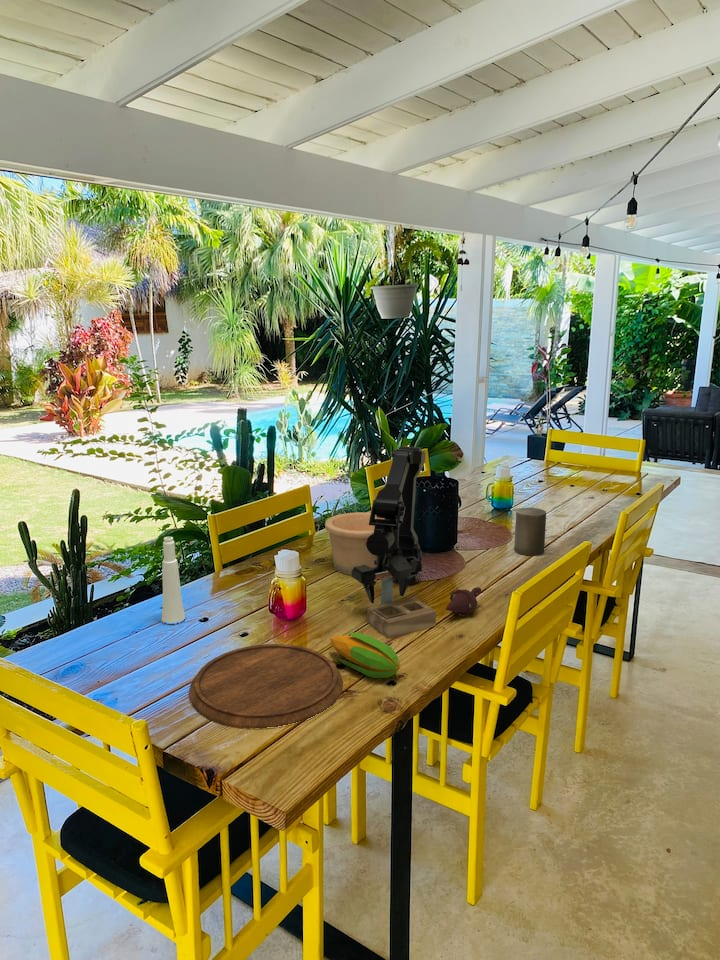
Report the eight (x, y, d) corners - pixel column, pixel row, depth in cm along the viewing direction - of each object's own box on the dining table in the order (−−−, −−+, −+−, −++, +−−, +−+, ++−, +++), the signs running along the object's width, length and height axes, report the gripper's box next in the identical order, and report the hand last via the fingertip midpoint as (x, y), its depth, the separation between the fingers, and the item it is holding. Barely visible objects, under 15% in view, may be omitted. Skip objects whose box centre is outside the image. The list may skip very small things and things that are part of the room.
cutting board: (374, 684, 151) (374, 673, 151) (258, 752, 128) (257, 739, 127) (273, 639, 172) (273, 629, 171) (158, 690, 149) (157, 679, 148)
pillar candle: (547, 556, 229) (550, 511, 225) (516, 556, 229) (519, 510, 226) (540, 546, 238) (543, 503, 235) (511, 546, 238) (513, 503, 235)
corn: (386, 655, 147) (318, 627, 160) (384, 689, 148) (317, 658, 161) (408, 645, 152) (341, 618, 165) (406, 678, 154) (339, 649, 167)
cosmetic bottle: (169, 627, 177) (164, 543, 172) (156, 620, 181) (151, 537, 176) (190, 619, 182) (185, 537, 176) (177, 613, 186) (172, 532, 180)
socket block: (367, 622, 180) (367, 607, 179) (413, 611, 187) (413, 596, 186) (388, 638, 172) (388, 621, 171) (435, 625, 178) (436, 609, 177)
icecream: (462, 604, 176) (493, 591, 187) (438, 589, 180) (470, 578, 191) (453, 628, 178) (485, 614, 189) (431, 613, 182) (463, 600, 194)
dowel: (379, 607, 189) (379, 579, 187) (388, 605, 191) (389, 577, 189) (385, 611, 187) (385, 583, 185) (394, 609, 188) (395, 581, 186)
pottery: (314, 574, 213) (314, 528, 209) (340, 551, 233) (340, 509, 230) (384, 583, 206) (384, 536, 203) (404, 558, 226) (405, 515, 223)
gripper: (372, 558, 173) (372, 618, 177) (435, 546, 182) (433, 603, 186) (350, 545, 182) (350, 602, 186) (411, 534, 191) (410, 589, 195)
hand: (387, 599), depth 188 cm, fingers open, 9 cm apart
